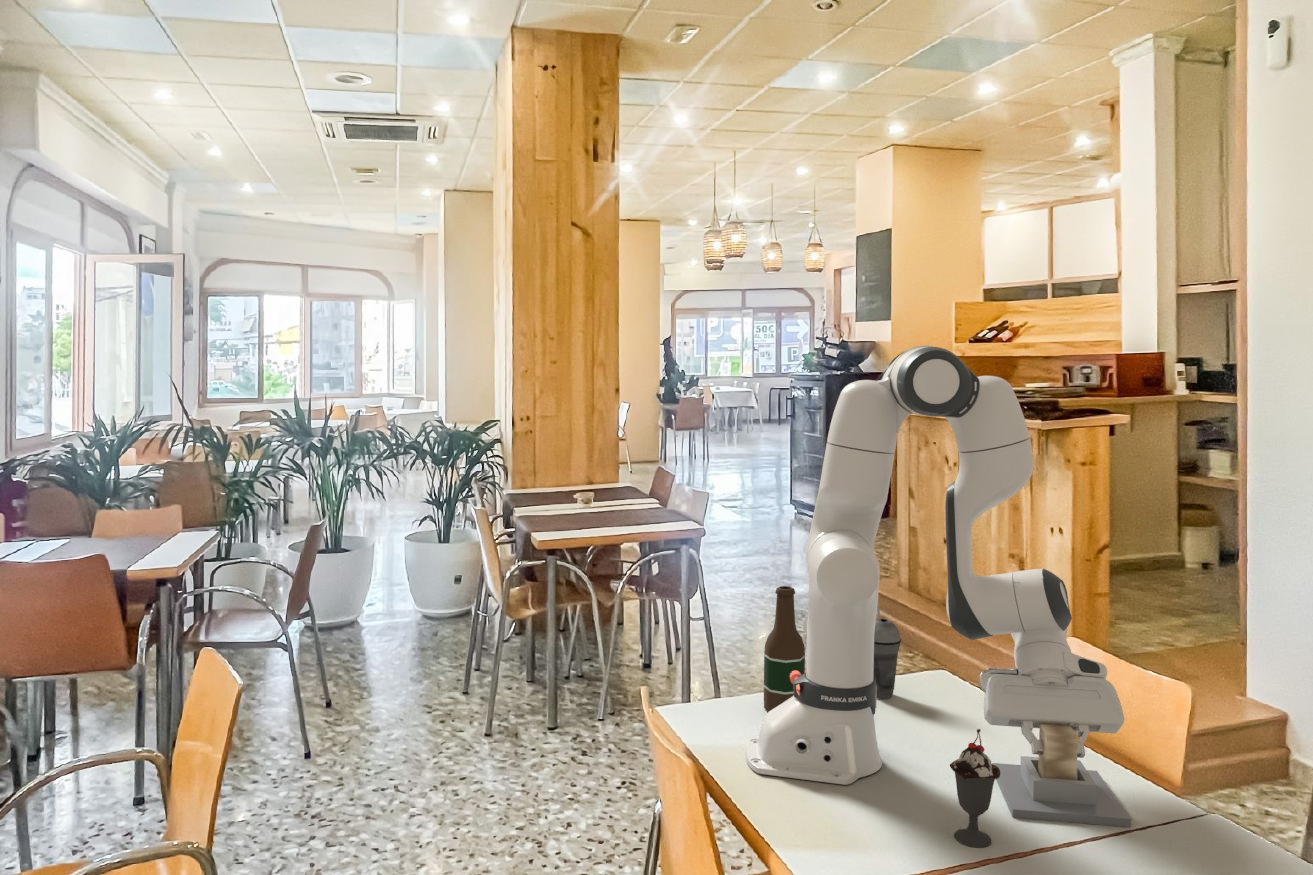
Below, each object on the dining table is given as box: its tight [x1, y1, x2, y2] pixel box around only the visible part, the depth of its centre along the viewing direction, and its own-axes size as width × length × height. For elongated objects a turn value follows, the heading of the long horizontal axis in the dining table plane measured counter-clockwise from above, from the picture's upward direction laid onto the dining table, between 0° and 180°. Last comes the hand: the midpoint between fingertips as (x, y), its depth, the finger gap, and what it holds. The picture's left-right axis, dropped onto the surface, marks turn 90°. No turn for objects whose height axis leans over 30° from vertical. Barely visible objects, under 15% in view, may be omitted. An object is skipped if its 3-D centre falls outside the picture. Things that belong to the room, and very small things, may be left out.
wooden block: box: [1038, 724, 1079, 780], centre depth 137 cm, size 4×4×8 cm
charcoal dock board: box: [991, 755, 1132, 828], centre depth 138 cm, size 16×16×4 cm
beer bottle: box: [763, 585, 806, 713], centre depth 172 cm, size 8×8×24 cm
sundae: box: [949, 728, 1000, 848], centre depth 125 cm, size 7×7×15 cm
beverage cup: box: [873, 598, 902, 700], centre depth 181 cm, size 7×7×20 cm
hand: (1058, 754), depth 137 cm, fingers closed on wooden block, 4 cm apart
